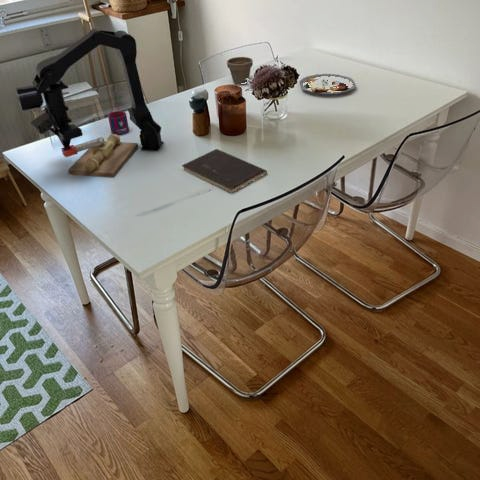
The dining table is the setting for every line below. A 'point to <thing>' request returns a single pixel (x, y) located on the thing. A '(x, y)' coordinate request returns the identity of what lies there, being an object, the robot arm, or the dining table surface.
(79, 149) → the lever
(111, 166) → the valve board
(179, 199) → the butter knife
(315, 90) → the food plate
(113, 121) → the mug
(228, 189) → the hardcover book
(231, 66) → the flower pot
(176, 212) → the dining table surface
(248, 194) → the dining table surface
